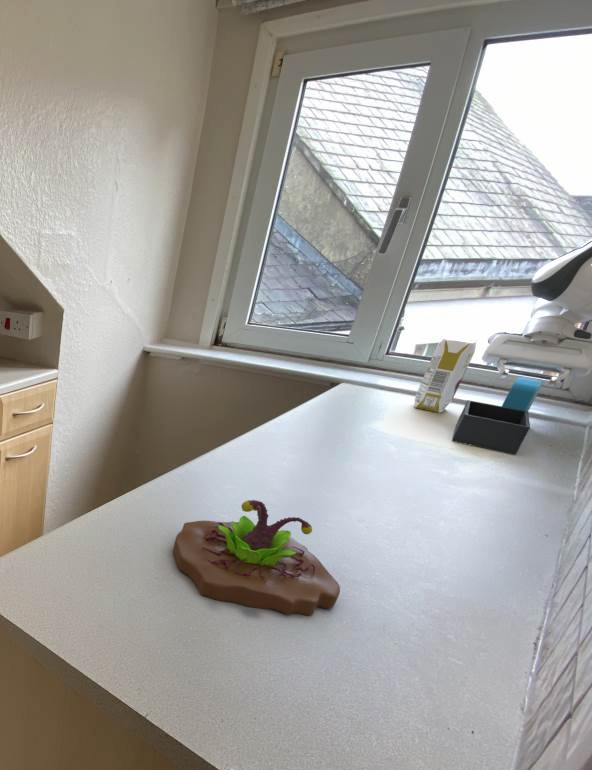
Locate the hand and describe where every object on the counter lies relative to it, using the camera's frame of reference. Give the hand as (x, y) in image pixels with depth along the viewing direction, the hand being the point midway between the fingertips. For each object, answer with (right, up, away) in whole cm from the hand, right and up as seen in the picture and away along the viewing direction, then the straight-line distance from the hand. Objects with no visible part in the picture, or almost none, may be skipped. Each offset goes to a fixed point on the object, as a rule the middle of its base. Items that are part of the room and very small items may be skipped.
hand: (526, 380), depth 139 cm
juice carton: (-13, -5, +13) cm, 20 cm away
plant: (-105, -38, -61) cm, 127 cm away
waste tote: (-19, -15, -8) cm, 26 cm away
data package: (-4, -12, +1) cm, 13 cm away
